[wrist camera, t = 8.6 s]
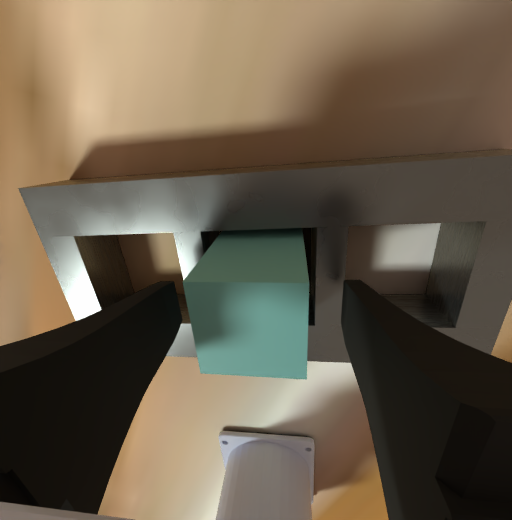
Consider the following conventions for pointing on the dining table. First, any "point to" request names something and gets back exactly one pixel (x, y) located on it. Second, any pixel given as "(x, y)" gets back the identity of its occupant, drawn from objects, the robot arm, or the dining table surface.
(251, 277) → the square peg
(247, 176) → the rail
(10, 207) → the dining table surface
